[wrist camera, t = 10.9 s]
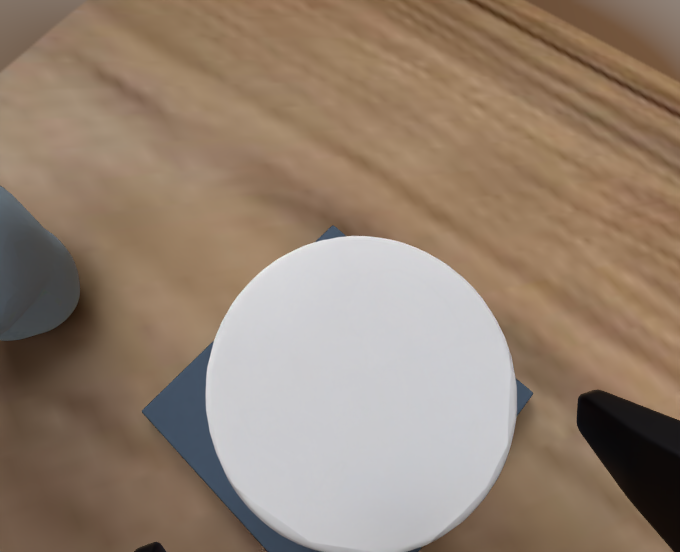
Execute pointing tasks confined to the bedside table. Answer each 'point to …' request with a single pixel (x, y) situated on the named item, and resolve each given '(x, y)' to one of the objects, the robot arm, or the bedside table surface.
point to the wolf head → (32, 274)
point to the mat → (197, 446)
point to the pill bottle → (361, 396)
